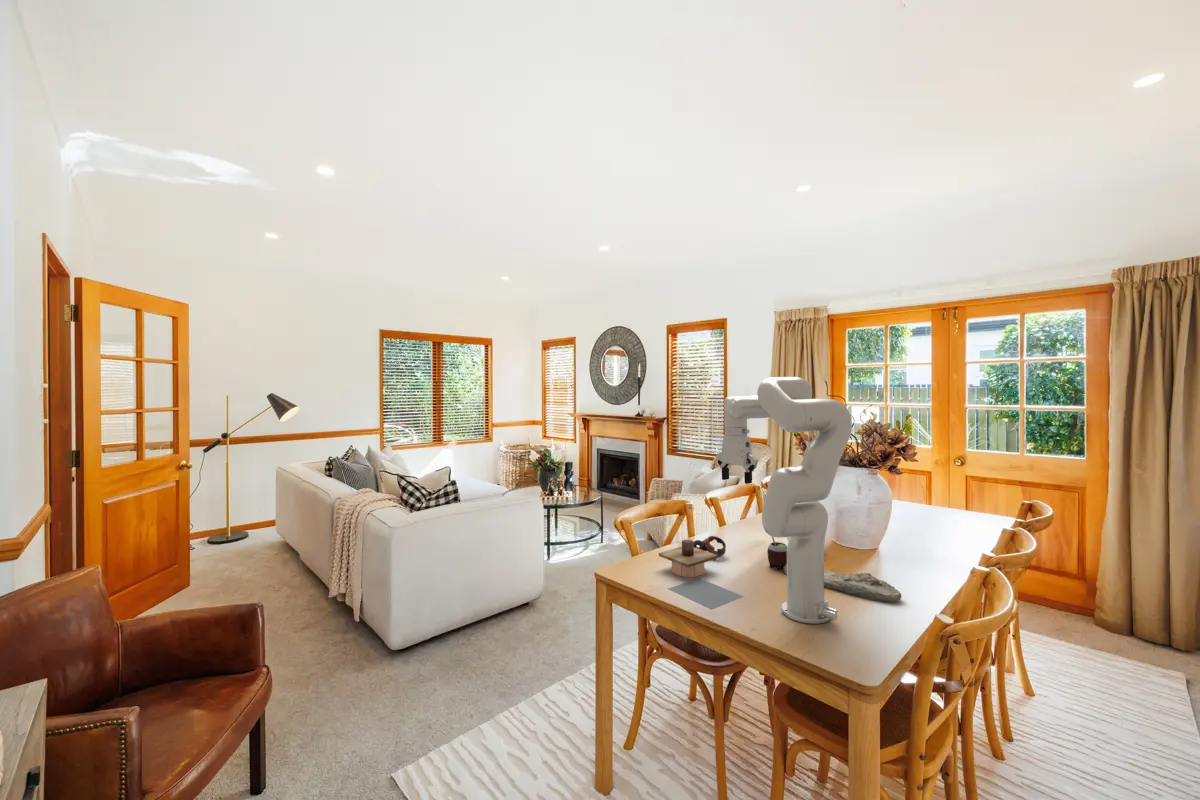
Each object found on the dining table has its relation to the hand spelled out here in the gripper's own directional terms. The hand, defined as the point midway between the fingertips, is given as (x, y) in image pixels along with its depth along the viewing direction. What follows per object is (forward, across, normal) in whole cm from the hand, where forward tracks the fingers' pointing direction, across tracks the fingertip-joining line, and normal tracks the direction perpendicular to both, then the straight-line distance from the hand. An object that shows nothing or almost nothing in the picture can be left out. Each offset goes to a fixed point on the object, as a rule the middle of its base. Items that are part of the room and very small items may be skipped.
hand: (736, 481), depth 172 cm
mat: (+30, -8, +25) cm, 40 cm away
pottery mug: (+30, +14, -1) cm, 33 cm away
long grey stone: (+31, -29, -12) cm, 44 cm away
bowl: (+30, +8, +16) cm, 35 cm away
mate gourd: (+30, -8, -11) cm, 33 cm away
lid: (+25, +8, +16) cm, 31 cm away
